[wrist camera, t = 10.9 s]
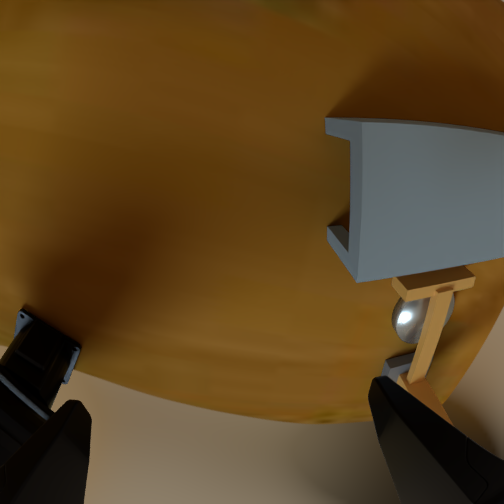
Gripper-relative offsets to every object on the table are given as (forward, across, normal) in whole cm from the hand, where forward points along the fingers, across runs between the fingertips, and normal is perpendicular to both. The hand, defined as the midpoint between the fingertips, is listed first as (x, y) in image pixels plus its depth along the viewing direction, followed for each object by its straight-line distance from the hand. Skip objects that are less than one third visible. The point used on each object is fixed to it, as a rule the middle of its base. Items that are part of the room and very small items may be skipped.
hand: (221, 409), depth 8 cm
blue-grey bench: (+13, -16, -3) cm, 21 cm away
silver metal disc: (+13, -16, +8) cm, 22 cm away
